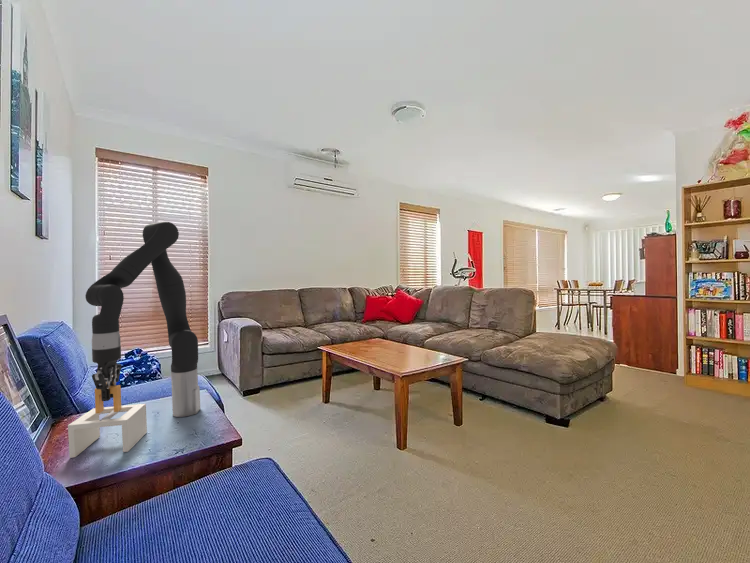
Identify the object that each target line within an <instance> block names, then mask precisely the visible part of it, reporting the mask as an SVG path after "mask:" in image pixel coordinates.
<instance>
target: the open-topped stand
mask: <svg viewBox="0 0 750 563" xmlns="http://www.w3.org/2000/svg"><path fill="white" fill-rule="evenodd" d="M124 412H125V413H124ZM118 413H124V414H123V415H121V416H120V417H118V418H114V416H116V415H117V414H118ZM103 414H104V415H105V414H106V415H105V416H104V417H102V418H100V415H103ZM115 426H121V436H122V437H121V438H122V452H123V453H128V452H130V451H131V450H132V448H133V447H134V446H135V445H136V444H137V443H138V442H139V441H140V440H141V439H142V438H143V437H145V436H144V435H146V433H148V423H147V403H139V404H137V403H136V404H128V405H121V410H120V411H118V412H114V406H104V411H102V412H101V413H95V407H93V408H91V410H89V411H88V412H86V413H84V414H83V415H81V416H80V417H78V418H77V419H75V420H74V421H72V422H71V423H69V424H68V425H67V433H68V449H69V450H68V452H69V453H68V454H69V457H68V458H69V459H71V458H76V457H77V456H78V455H80V454H81V453H82V452H83V451H85V450H86V449H87V448H89V447H90V446H91V445H92V444H93V443H95V441H97V440H98V439H99V438H101V428H105V427H107V428H108V427H115Z"/></svg>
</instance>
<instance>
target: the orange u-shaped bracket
mask: <svg viewBox="0 0 750 563" xmlns="http://www.w3.org/2000/svg"><path fill="white" fill-rule="evenodd" d="M121 386H122V385H121V384H118V385H117V384H116V385H113V386H110V394H113V398H112V400H113V402H112V403H113V404H112V405H113V406H114V412H118V411H120V410H121V406H122V388H121ZM104 403H105V402H104V401H102V397H101V390H100V389H98V390H97V389H96V387H95V388H94V406H95V407H94V408H95V413H101V412H102V411H104V407H105V406H104ZM113 406H112V407H113ZM118 413H119V412H118Z"/></svg>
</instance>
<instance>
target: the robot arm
mask: <svg viewBox="0 0 750 563" xmlns="http://www.w3.org/2000/svg"><path fill="white" fill-rule="evenodd" d="M179 232H180V231H179V229H178V227H177V225H175V224H174V223H173V222H170V221H158V222H154V223H153V222H152V223H149V224H147V225H145V226H144V227H143V230H142V240H143V243H144V244H143V245H141V246H140V247H138V248H137V249H135V250H134V251H132V252H131V253H130V254H128V255H126V256H125V257H124V258H123V259H122V260H120V262H119V263H118V264H116V266H115V267H113V269H112V270H111V271H110V272H108V273H106V274H105V275H104V276H102V277H101V278H99V279H98V280H96V281H94V282H93V283H92V284H91V285H90V286H89V288H87V290H86V292H85V300H86V302H87V303H88V304H89V305H90V306H94V307H100V312H99V313H98V314H95V315H94V316H93V317H91V318H92V320H91V329H92V330H91V331H92V332H91V333H92V335H91V356H92V360H91V361H92V363H95V364H97V367H96V371H97V372H96V373H93V374H92V375H91V379H92V380H93V384H94V386H95V388H96V389H97V390H98V389H100V390H101V397H102V401H103V402H109V401H110V400H111V399H113V394H110V386H113V385H117V383H118V382H119V380H120V375H121V371H122V364H121V363H120V364H119V363H118V362H117V361H120V360H121V358H122V346H121V345H122V343H121V342H122V340H121V334H120V316H121V313H122V307H123V305H124V298H125V296H124V292H123V290H122V289H123V288H127V287H129V286H130V285H132V284H133V282H135V281H136V279H137V278H138V277H139V276H140V275H141V274H142V273H143V271H144V270H145V269H147V267H148V266H149V265H150V264H151V267H152V271H153V275H154V279H155V280H154V281H155V284H156V290H157V294H158V298H159V301H160V305H161V308H162V311H163V314H164V317H165V320H166V321H165V322H166V328H167V338H168V344H169V347H170V348H171V364H170V371H171V372H170V376H171V377H170V378H171V380H170V382H171V401H172V402H171V404H172V411H171V412H172V416H173V417H175V418H176V417H177V418H182V417H183V418H184V417H190V416H193V415H197V414H198V413H199V411H200V410H201V389H200V385H199V382H198V381H199V380H198V378H199V377H198V364H199V341H198V340H199V339H198V337H197V336H198V335H197V334H196V333H195V332H194V331H192V330H191V327H190V323H189V320H188V317H187V316H188V315H187V295H186V294H187V293H186V289H185V285H184V280H183V277H182V275H181V274H180V272H179V271H178V270H177V269H176V267H175V265H173V263H172V261H171V260H170V258H169V255H168V251H167V250H168V249H169V248H171V247H172V246H173V245H174V244H175V243H176V242H177V241H178V239H179V238H180V237H179V234H180V233H179Z"/></svg>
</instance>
